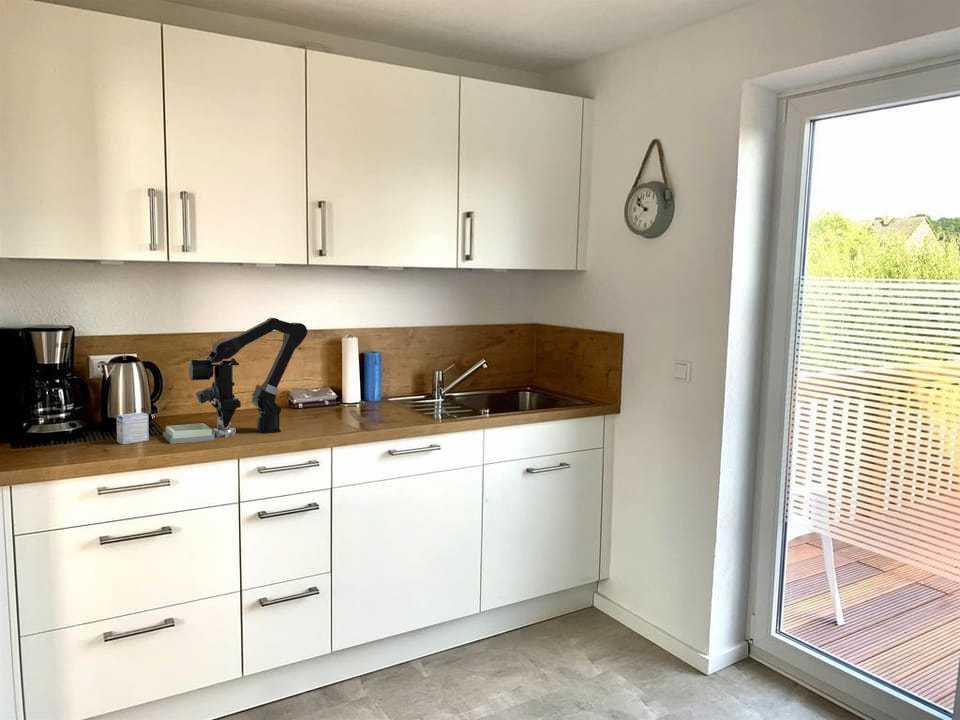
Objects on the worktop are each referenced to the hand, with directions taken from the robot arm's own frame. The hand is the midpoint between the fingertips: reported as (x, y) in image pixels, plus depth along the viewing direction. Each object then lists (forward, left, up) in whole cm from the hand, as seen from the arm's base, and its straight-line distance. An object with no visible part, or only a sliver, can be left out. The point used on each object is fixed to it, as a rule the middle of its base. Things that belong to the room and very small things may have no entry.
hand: (223, 426), depth 233 cm
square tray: (+11, 0, -3) cm, 11 cm away
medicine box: (+27, -2, -3) cm, 27 cm away
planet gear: (0, 0, -3) cm, 3 cm away
